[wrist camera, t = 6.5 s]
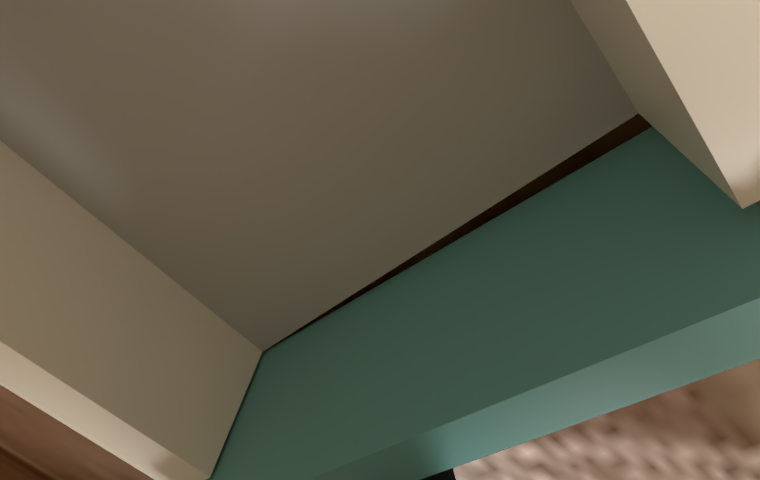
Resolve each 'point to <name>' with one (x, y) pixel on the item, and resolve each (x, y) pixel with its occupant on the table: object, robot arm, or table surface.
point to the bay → (297, 171)
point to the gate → (515, 329)
